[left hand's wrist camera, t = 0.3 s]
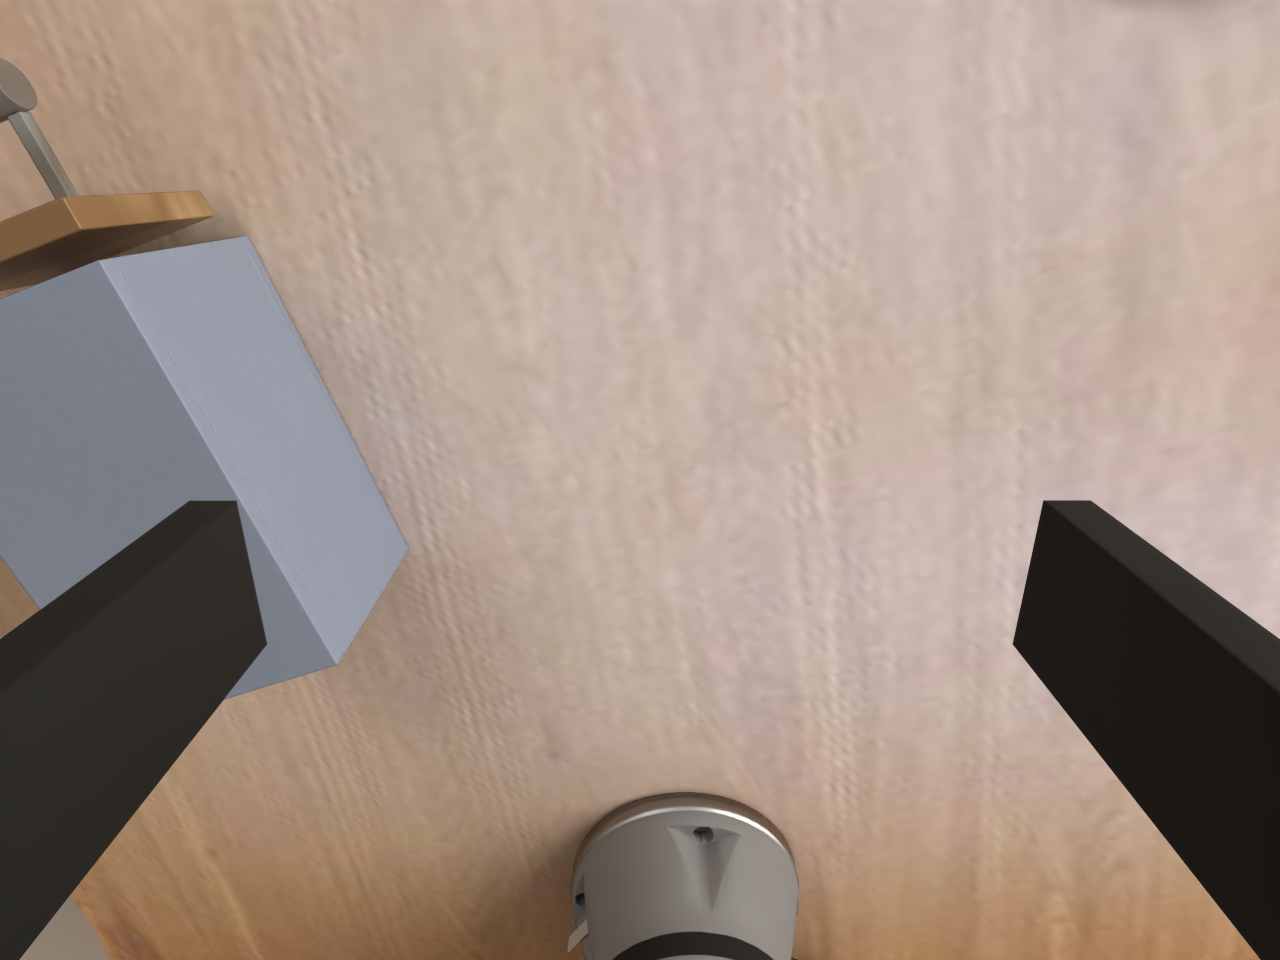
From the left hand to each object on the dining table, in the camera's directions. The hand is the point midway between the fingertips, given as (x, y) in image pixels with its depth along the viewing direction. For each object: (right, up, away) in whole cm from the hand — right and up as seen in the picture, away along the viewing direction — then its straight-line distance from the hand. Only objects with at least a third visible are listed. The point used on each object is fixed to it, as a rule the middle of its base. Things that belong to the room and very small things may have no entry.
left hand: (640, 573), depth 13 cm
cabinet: (-21, +4, +28) cm, 35 cm away
